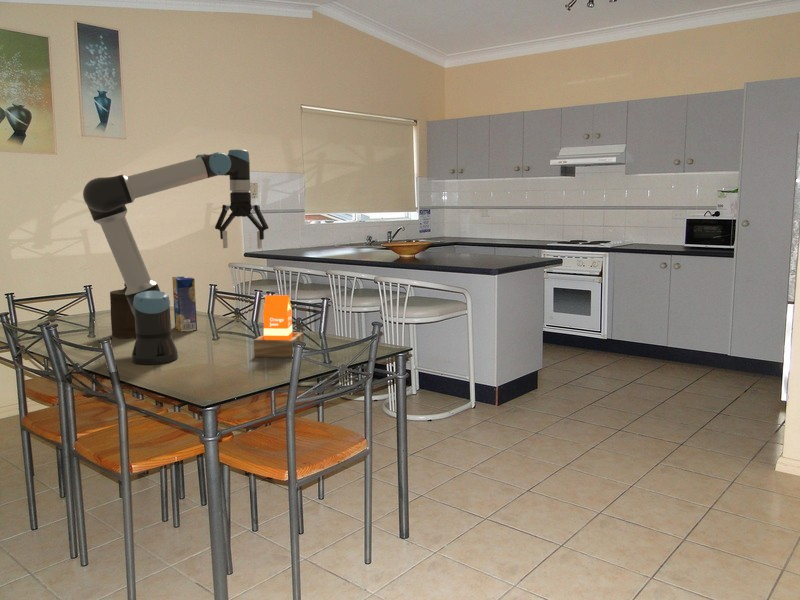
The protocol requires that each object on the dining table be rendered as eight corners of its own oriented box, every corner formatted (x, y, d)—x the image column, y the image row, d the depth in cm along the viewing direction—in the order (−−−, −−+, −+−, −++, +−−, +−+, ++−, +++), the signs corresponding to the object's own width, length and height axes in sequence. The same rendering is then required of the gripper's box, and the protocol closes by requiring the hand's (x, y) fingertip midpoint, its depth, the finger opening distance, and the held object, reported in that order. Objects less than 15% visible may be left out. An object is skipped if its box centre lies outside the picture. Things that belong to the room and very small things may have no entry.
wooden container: (156, 331, 284) (153, 279, 280) (142, 338, 269) (138, 284, 266) (121, 331, 284) (118, 279, 281) (105, 338, 270) (101, 284, 266)
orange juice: (288, 352, 242) (286, 297, 239) (264, 351, 242) (262, 296, 239) (292, 347, 250) (291, 293, 247) (269, 346, 250) (267, 293, 247)
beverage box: (191, 326, 295) (188, 276, 291) (197, 330, 285) (194, 278, 282) (175, 327, 291) (172, 277, 288) (180, 332, 282) (177, 279, 278)
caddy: (292, 357, 238) (292, 341, 237) (254, 356, 240) (253, 340, 239) (304, 348, 253) (303, 332, 252) (268, 347, 254) (267, 331, 253)
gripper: (275, 191, 255) (277, 247, 258) (212, 191, 258) (215, 247, 262) (269, 191, 248) (271, 249, 251) (204, 191, 251) (207, 248, 254)
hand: (242, 248), depth 256 cm, fingers open, 13 cm apart
